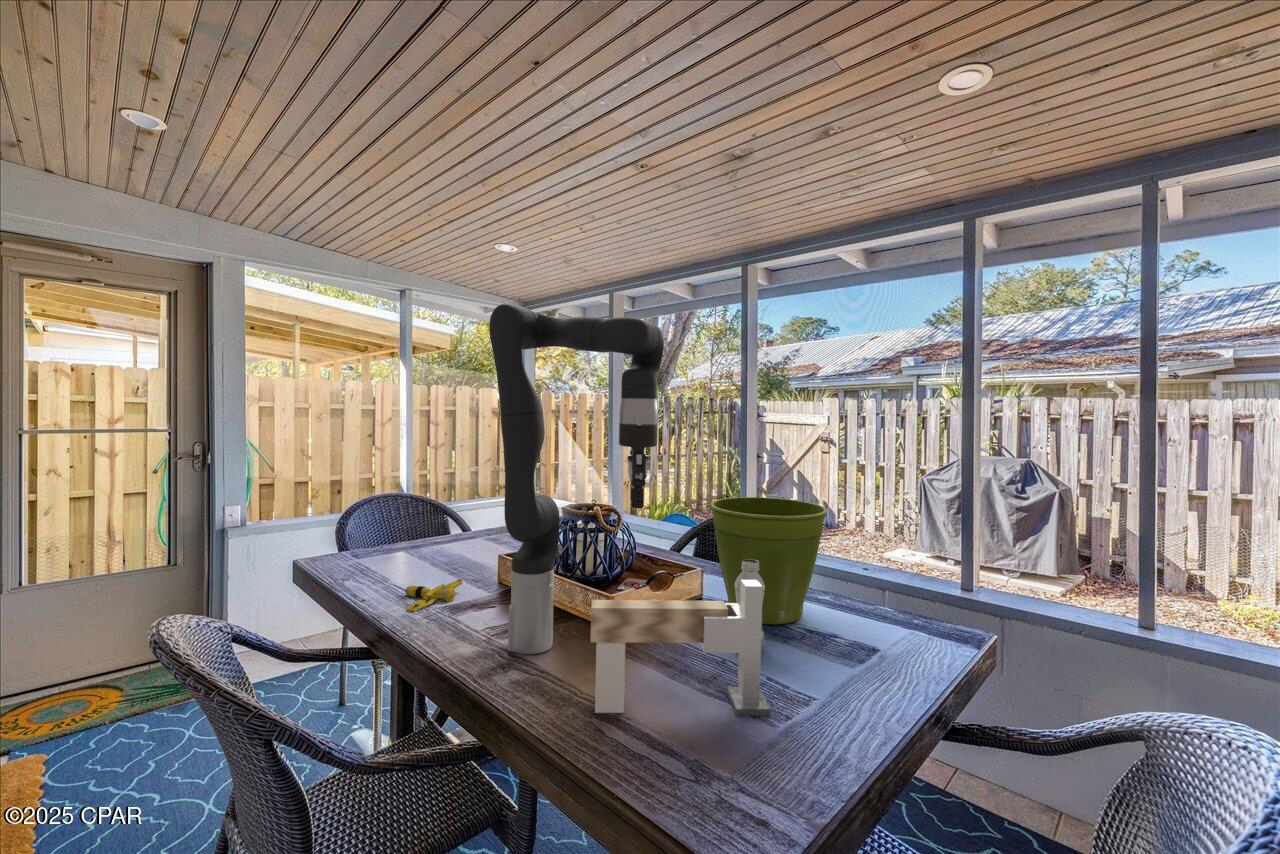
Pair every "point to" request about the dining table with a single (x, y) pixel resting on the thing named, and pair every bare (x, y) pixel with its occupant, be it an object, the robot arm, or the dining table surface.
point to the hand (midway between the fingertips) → (636, 504)
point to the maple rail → (651, 620)
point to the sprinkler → (431, 594)
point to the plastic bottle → (750, 573)
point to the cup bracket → (741, 647)
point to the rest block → (610, 677)
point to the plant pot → (770, 549)
